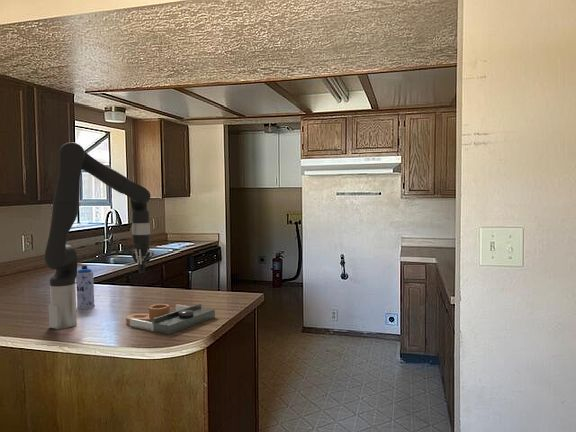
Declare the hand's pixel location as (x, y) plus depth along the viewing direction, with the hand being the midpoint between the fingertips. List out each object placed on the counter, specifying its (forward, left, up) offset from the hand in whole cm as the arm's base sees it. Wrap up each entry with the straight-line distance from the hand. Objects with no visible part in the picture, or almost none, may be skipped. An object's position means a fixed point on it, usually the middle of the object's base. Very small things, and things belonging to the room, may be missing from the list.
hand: (141, 272), depth 191 cm
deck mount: (0, -19, -19) cm, 27 cm away
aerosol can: (-3, +37, -20) cm, 42 cm away
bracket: (-6, -10, -20) cm, 23 cm away
